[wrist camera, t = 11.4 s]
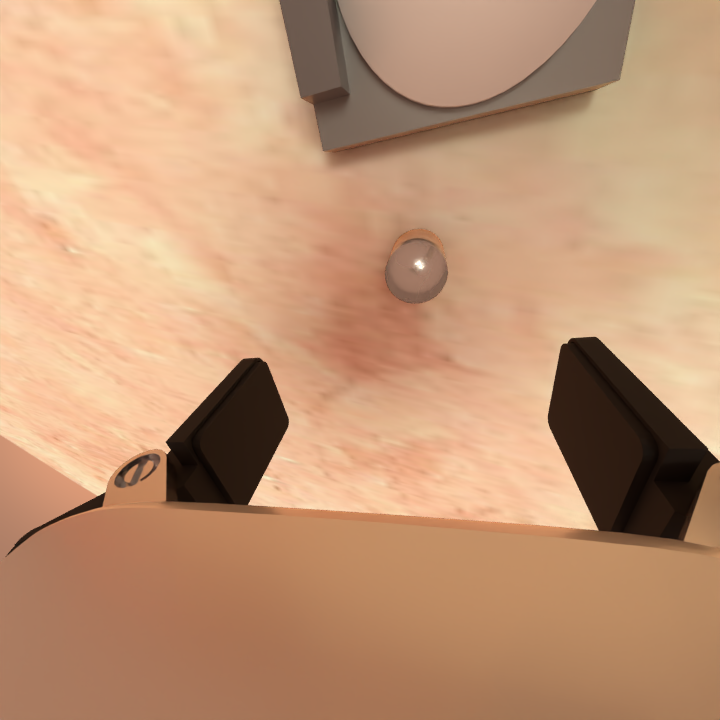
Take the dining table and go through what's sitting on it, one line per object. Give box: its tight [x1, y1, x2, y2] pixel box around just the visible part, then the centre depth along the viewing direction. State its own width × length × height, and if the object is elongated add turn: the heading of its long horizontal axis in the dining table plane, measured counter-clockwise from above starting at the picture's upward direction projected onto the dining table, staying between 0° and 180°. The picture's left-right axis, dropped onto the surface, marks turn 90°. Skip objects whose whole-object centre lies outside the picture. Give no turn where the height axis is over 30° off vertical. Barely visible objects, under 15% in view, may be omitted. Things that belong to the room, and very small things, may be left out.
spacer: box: [385, 229, 448, 304], centre depth 24 cm, size 4×4×5 cm
